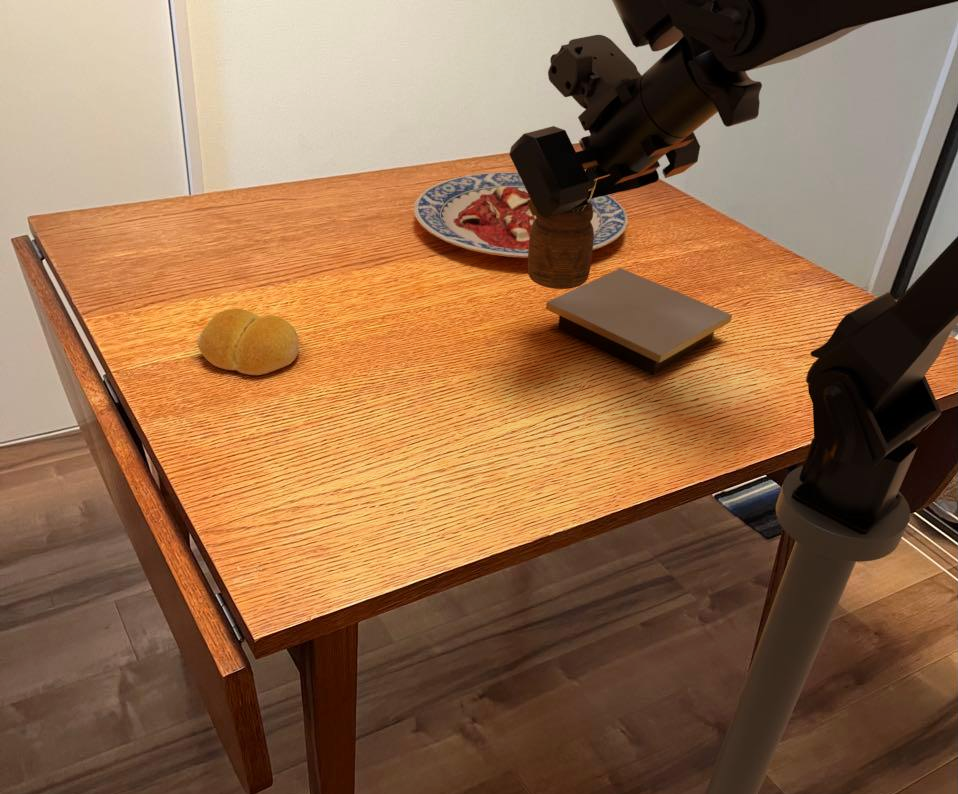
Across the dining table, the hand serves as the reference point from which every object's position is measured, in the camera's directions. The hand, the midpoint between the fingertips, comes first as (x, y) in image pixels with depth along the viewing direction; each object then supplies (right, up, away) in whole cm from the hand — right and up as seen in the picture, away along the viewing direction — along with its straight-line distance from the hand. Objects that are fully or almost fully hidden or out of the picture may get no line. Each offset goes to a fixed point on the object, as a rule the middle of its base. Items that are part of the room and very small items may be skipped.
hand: (553, 203), depth 83 cm
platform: (+9, -10, +9) cm, 16 cm away
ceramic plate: (-2, +7, +29) cm, 30 cm away
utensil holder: (+1, -6, +4) cm, 7 cm away
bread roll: (-28, -13, +3) cm, 31 cm away
